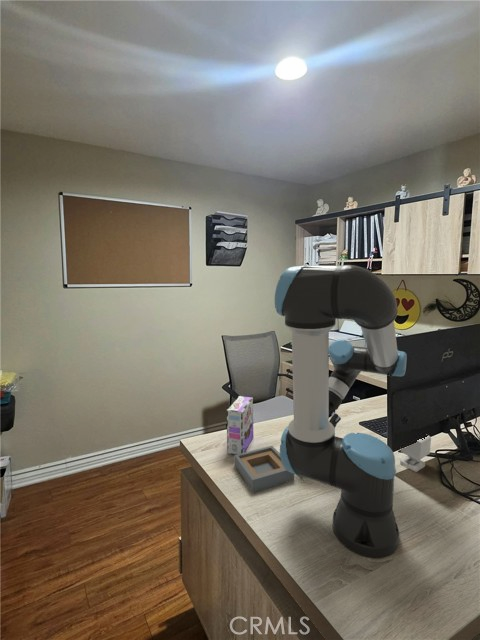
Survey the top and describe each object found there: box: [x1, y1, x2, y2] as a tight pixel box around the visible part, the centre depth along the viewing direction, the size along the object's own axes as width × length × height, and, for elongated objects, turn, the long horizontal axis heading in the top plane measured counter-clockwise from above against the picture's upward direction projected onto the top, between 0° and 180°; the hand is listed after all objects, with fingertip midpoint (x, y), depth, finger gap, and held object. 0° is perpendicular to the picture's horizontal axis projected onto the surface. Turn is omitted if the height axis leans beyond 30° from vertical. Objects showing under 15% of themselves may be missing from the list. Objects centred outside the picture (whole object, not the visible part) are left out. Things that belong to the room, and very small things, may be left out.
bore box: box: [234, 445, 295, 493], centre depth 104 cm, size 14×14×4 cm
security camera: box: [399, 435, 432, 473], centre depth 107 cm, size 6×7×10 cm
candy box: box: [226, 395, 254, 455], centre depth 119 cm, size 14×6×16 cm, turn 161°
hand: (295, 453), depth 104 cm, fingers closed on skincare box, 7 cm apart
